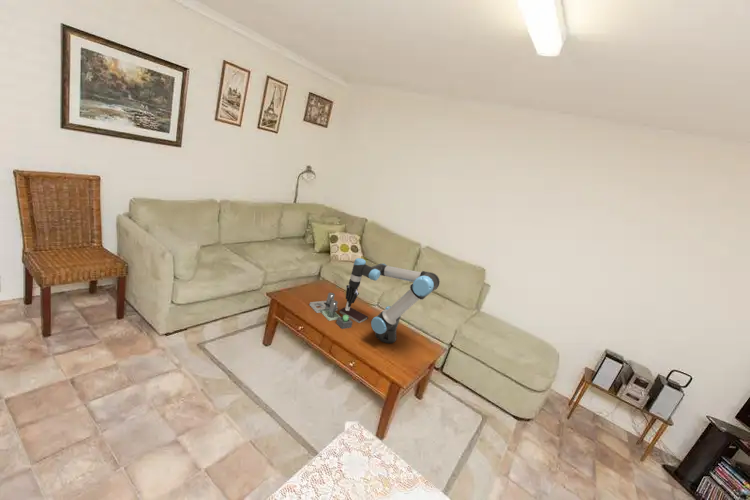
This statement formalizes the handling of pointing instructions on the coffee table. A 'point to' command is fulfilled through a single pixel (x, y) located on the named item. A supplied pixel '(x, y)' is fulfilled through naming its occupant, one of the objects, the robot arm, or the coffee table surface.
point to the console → (344, 323)
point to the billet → (332, 308)
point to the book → (354, 314)
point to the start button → (345, 318)
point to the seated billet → (329, 299)
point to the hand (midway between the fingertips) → (347, 310)
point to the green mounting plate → (329, 317)
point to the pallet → (321, 304)
